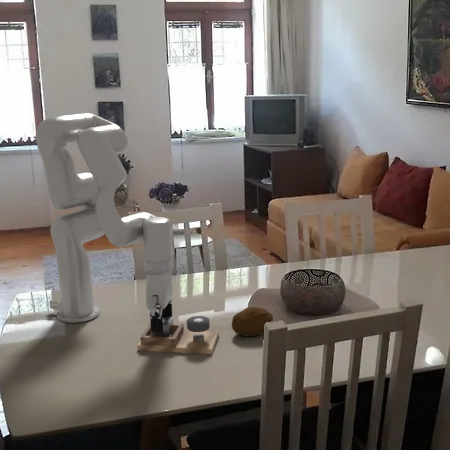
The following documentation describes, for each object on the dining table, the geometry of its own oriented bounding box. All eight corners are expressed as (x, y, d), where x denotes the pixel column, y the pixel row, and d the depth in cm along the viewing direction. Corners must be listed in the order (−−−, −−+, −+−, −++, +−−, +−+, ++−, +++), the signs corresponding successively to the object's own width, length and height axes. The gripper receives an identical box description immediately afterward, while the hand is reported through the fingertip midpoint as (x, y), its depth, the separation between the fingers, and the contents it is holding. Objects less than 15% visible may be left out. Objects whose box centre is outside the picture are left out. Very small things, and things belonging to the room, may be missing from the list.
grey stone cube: (151, 340, 165) (150, 323, 164) (156, 332, 170) (155, 316, 169) (169, 341, 165) (168, 324, 163) (173, 333, 169) (172, 316, 168)
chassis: (137, 350, 163) (136, 338, 162) (149, 332, 174) (148, 321, 173) (211, 354, 160) (211, 342, 159) (218, 336, 171) (218, 324, 170)
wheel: (184, 331, 162) (184, 324, 162) (189, 322, 168) (189, 315, 168) (207, 332, 161) (207, 325, 161) (211, 323, 167) (211, 316, 167)
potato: (226, 332, 173) (225, 307, 171) (263, 323, 179) (263, 298, 177) (241, 343, 166) (240, 317, 164) (279, 333, 172) (279, 307, 170)
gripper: (154, 253, 171) (157, 311, 175) (135, 274, 154) (139, 337, 159) (180, 254, 169) (182, 312, 174) (164, 276, 153) (167, 339, 157)
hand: (161, 324), depth 166 cm, fingers open, 9 cm apart
